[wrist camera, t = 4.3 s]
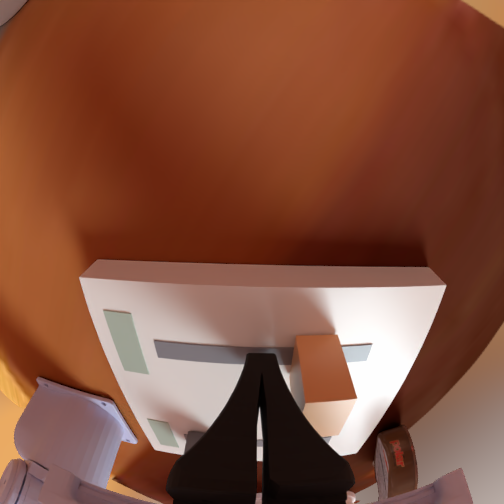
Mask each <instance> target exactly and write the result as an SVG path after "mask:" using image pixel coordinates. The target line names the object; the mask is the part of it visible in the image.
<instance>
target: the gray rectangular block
mask: <svg viewBox="0 0 504 504" xmlns="http://www.w3.org/2000/svg"><path fill="white" fill-rule="evenodd" d="M204 434H205V433H200V432H192V431H188V435H187V440H186V445H185V450H184V454H185V453H186V452H187V451H188V450H189V449H190V448H191V447H192V446H193V445H194V444H195V443H196V442H197V441H198V440H199V439H200V438H201V437H202V436H203V435H204Z"/></svg>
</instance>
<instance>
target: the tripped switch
mask: <svg viewBox="0 0 504 504" xmlns="http://www.w3.org/2000/svg"><path fill="white" fill-rule="evenodd" d="M289 379H290V390H291V394H292V396H293V398H294V400H295V401H296V403H297V405H298V406H299V408H300V410H301V411H302V413H303V414H304V416H305V417H306V418H307V420H308V421H309V422H310V424H311V425H312V426H313V428H314V429H315V430H316V431H317V432H318V433H319V435H320V436H321V437H327V436H336V435H339V433H340V432H341V430H342V428H343V426H344V424H345V422H346V421H347V419H348V417H349V415H350V413H351V411H352V409H353V407H354V405H355V403H356V401H357V395H356V392H355V388H354V385H353V382H352V378H351V375H350V372H349V369H348V365H347V362H346V359H345V356H344V353H343V350H342V346H341V343H340V340H339V337H338V335H297V336H296V338H295V345H294V351H293V357H292V364H291V370H290V376H289Z"/></svg>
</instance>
